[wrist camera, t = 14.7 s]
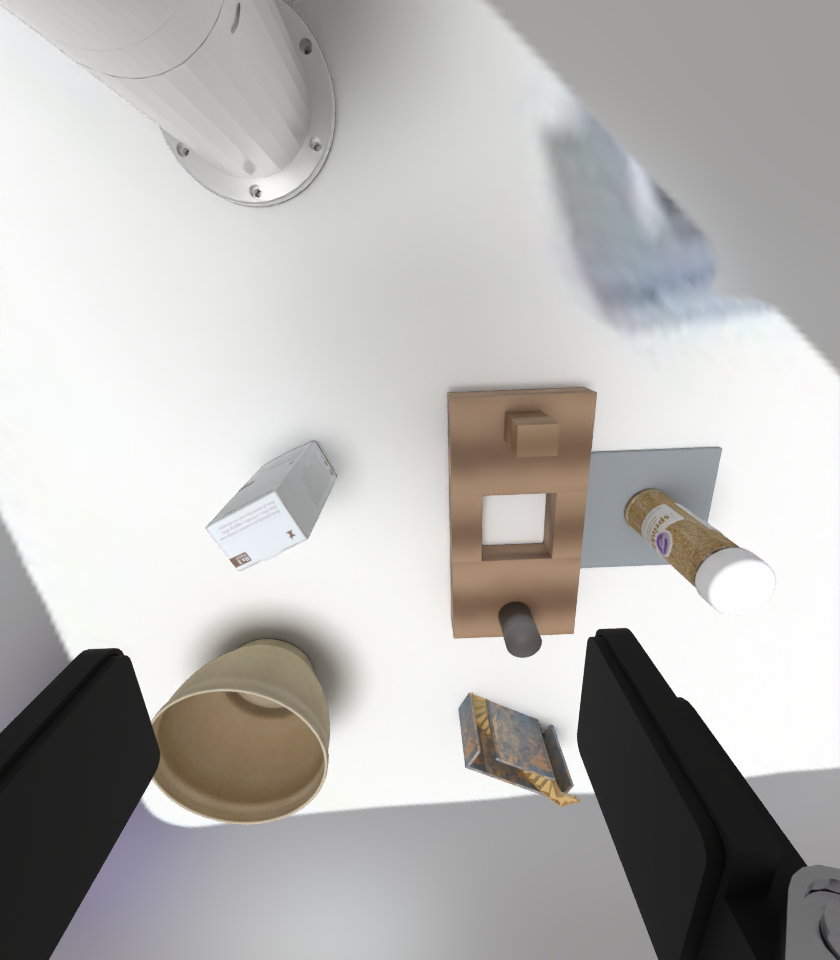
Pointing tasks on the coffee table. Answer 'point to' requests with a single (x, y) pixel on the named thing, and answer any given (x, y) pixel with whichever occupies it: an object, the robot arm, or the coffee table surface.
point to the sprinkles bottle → (701, 554)
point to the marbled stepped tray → (514, 749)
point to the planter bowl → (245, 736)
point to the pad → (629, 474)
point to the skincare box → (274, 507)
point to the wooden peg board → (507, 471)
